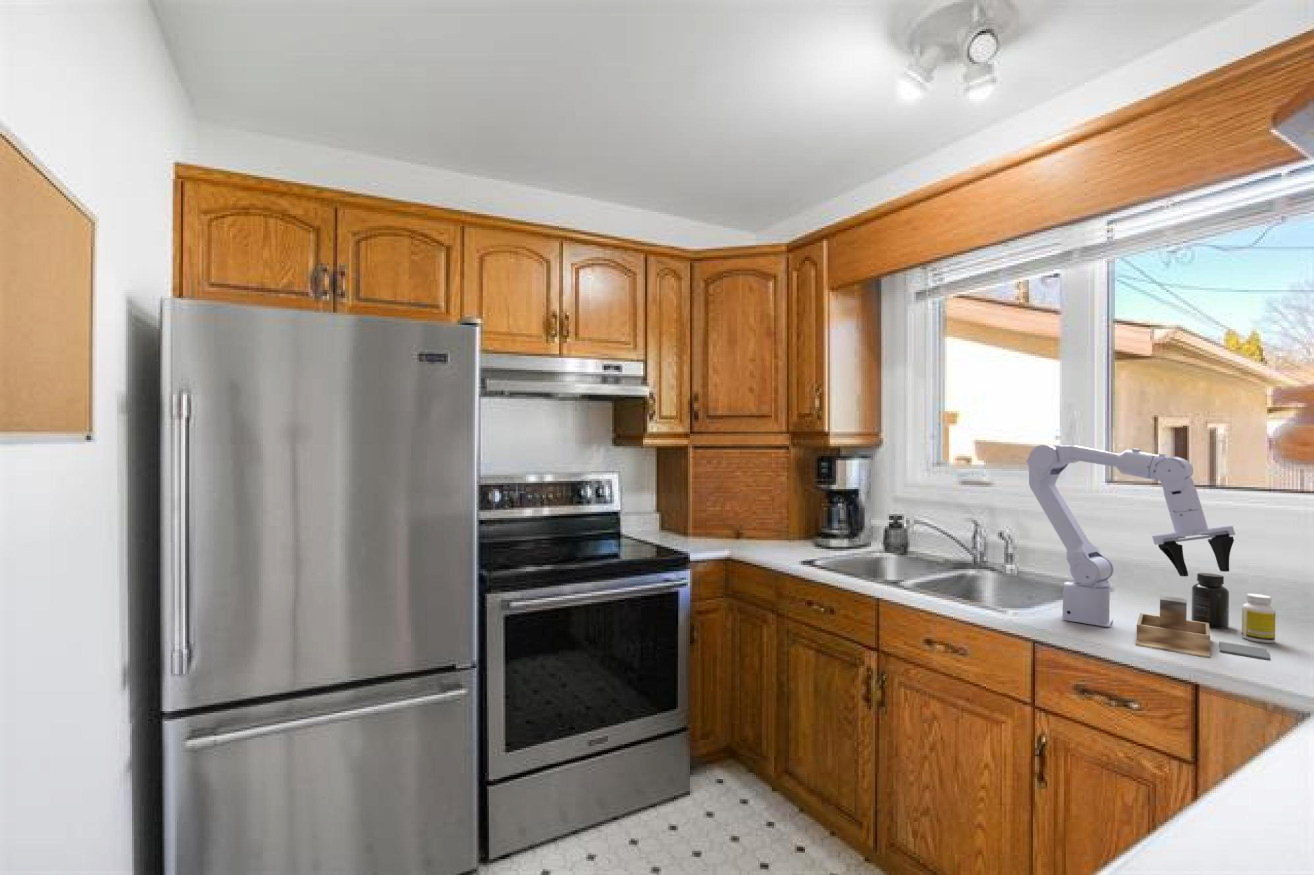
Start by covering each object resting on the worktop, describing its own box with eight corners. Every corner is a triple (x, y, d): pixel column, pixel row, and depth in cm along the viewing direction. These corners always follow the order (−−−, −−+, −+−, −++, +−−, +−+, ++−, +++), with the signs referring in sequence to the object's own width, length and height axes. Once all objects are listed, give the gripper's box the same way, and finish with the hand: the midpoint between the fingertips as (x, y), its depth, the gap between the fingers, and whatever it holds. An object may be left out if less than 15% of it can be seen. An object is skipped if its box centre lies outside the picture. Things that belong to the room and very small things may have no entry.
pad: (1220, 651, 134) (1220, 649, 134) (1219, 643, 140) (1219, 641, 140) (1269, 660, 129) (1269, 658, 129) (1266, 650, 135) (1266, 648, 135)
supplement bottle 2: (1281, 644, 139) (1282, 599, 139) (1252, 642, 140) (1253, 597, 140) (1263, 636, 145) (1264, 593, 145) (1235, 635, 146) (1236, 591, 146)
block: (1159, 640, 141) (1160, 599, 141) (1160, 635, 145) (1160, 595, 145) (1185, 644, 139) (1186, 602, 139) (1186, 639, 142) (1186, 598, 142)
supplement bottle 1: (1236, 629, 150) (1237, 578, 150) (1203, 628, 151) (1204, 577, 151) (1215, 621, 157) (1216, 572, 157) (1184, 619, 158) (1185, 571, 158)
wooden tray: (1135, 644, 138) (1135, 628, 138) (1141, 624, 153) (1141, 609, 153) (1210, 657, 130) (1210, 640, 130) (1208, 634, 146) (1208, 619, 146)
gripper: (1157, 515, 139) (1175, 579, 137) (1234, 504, 136) (1255, 569, 133) (1141, 516, 146) (1159, 577, 143) (1215, 506, 143) (1234, 568, 140)
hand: (1204, 573), depth 139 cm, fingers open, 7 cm apart
